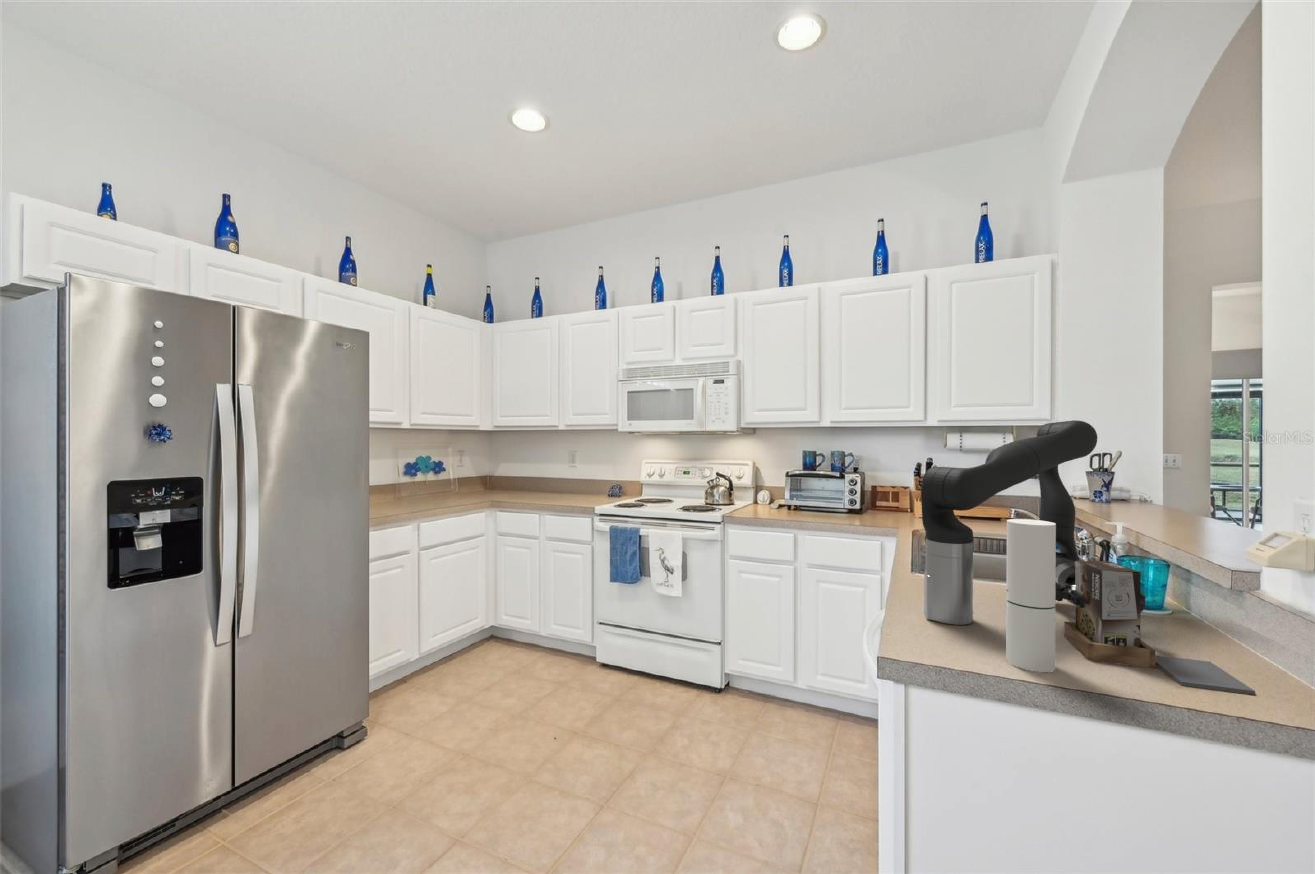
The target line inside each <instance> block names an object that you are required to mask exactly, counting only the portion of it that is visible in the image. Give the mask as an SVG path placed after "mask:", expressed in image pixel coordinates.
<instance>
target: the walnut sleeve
mask: <svg viewBox="0 0 1315 874" xmlns="http://www.w3.org/2000/svg"><path fill="white" fill-rule="evenodd" d="M1063 624H1064V625H1063V626H1064V629H1063V631H1064V633H1063V635H1064V637H1065V639H1066V640H1067V641H1069V642H1070V643H1071V645H1073V647H1074V648H1075V649H1076V650H1077V651H1079V653H1080V654H1081V655H1083V657H1085V659H1086V660H1087V661H1093V662H1101V663H1108V664H1109V663H1110V664H1116V665H1117V664H1118V665H1125V666H1132V667H1134V666H1135V667H1141V668H1142V667H1143V668H1150V669H1156V665H1155V658H1156V655H1157V654H1156V650H1155V649H1153V648H1152V647H1150V646H1149V645H1148V644H1147V643H1145V642H1144V641H1142V640H1141V639H1140V648H1137V647H1128V646H1119V645H1110V644H1101V643H1092V642H1091V641H1090V640H1089V639H1088V638H1086V637H1085V636H1084V635H1083V634H1082V633H1081V632H1080V631H1079V630H1078V629H1077V628H1076V621H1075V622H1073V621H1066V620H1065V621H1064V623H1063Z"/></svg>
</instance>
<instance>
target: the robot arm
mask: <svg viewBox="0 0 1315 874" xmlns="http://www.w3.org/2000/svg"><path fill="white" fill-rule="evenodd" d="M1097 444H1098V433H1097V431H1096V428H1095V427H1093V425H1091V424H1090V423H1089V422H1086V421H1083V420H1076V419H1075V420H1074V419H1073V420H1063V421H1057V422H1056V421H1055V422H1048V423H1045V424H1042V425H1041V426H1039V428H1038V430H1037V432H1036V436H1034V437H1033V436H1032V437H1027V438H1023V439H1018V440H1014V441H1011V442H1009V443H1005V444H1004V445H1001V446H998V447H997V448H995V449H993V450H991V452H989V454H988V455H987V456H986V459H985V462H984V464H981V465H977V466H973V467H951V466H950V467H949V466H933V467H930V468H928V469H927V470H926V471H925V473H924V475H923V476H922V479H921V484H920V500H921V501H920V502H921V504H920V505H921V520H922V524H923V525H922V526H923V528H924V531H925V570H924V574H923V575H924V585H923V586H924V587H923V588H924V592H923V593H924V594H923V595H924V600H923V603H924V605H923V607H924V610H923V612H924V615H925V617H926V619H927V620H929V621H930V620H931V621H935V622H938V623H943V624H947V625H948V624H949V625H956V626H957V625H958V626H959V625H960V626H962V625H969V624H973V621H974V616H973V615H974V531H973V529H972V528H971V527H969V525H966V524H965V523H963V522H962V521H960V520H959V519H958V517H956V515H955V511H960V512H961V511H970V510H973V509H974V508H977V507H979V506H980V505H981V504H984V503H985V502H986V501H988V500H989V499H991V498H992V497H994V496H996V494H999V493H1001V492H1003V491H1005V490H1008V489H1010V488H1012V487H1014V486H1016V485H1019V484H1021V483H1023V482H1026V481H1028V480H1030V479H1033V478H1034V477H1036V476H1038V480H1039V481H1038V483H1039V489H1040V491H1039V493H1040V504H1039V505H1040V508H1039V517H1038V520H1041V521H1048V522H1052V523H1055V524H1056V547H1058V548H1059V551H1060V552H1058V551H1056V582H1055V601H1057V602H1063V601H1064V600H1066V602H1067V603H1069V604H1073V605H1074V606H1075V607H1076V606H1078V607H1079V608H1084V596H1082V595H1081V594H1080V593H1078V592H1077V590H1076V589H1075V561H1080V558H1079V555H1078V554H1079V553H1078V550H1077V545H1076V539H1075V526H1076V506H1075V503H1074V500H1073V499H1072V497H1071V495H1070V493H1069V492H1068V490H1067V488H1066V487H1065V485H1064V483H1063V481H1062V479H1061V477H1060V473H1059V465H1061V464H1063V463H1064V464H1065V463H1066V462H1070V461H1073V460H1077V459H1082V458H1085V457H1087V456H1088V455H1090V454H1091V453H1092V452H1093V451H1094V450H1095V449H1096V446H1097ZM1146 597H1147V596H1146V594H1144V593H1142V592H1141V608H1140V614H1141V613H1142V612H1144V610H1145V609H1146V608H1147V607H1146Z"/></svg>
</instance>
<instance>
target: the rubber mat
mask: <svg viewBox="0 0 1315 874" xmlns="http://www.w3.org/2000/svg"><path fill="white" fill-rule="evenodd" d="M1155 667H1157V668H1159V669H1160V670H1161V671H1163V673H1165V674H1166V675H1167V676H1169V677H1170V678H1172V679H1173V680H1174V681H1175V682H1176V683H1178V684H1179V685H1180V686H1182V687H1183V686H1184V687H1190V688H1191V687H1192V688H1198V689H1205V688H1207V689H1208V690H1213V689H1214V691H1222V692H1229V693H1230V692H1231V693H1237V694H1244V693H1246V695H1252V694H1253V695H1252V696H1255V695H1256V690H1254V688H1253V689H1252V688H1251V687H1250V686H1248V685H1246V684H1245V683H1243V682H1242V681H1240V680H1239V679H1238V678H1236V677H1235V676H1233V675H1231V674H1230V673H1228V672H1227V671H1225V670H1223V668H1221V667H1219V666H1218V665H1216V664H1215V663H1213V662H1211V661H1208V660H1199V659H1192V658H1191V659H1190V658H1182V657H1174V656H1173V657H1172V656H1165V655H1157V654H1156V658H1155ZM1207 689H1206V690H1207Z"/></svg>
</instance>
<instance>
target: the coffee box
mask: <svg viewBox="0 0 1315 874" xmlns="http://www.w3.org/2000/svg"><path fill="white" fill-rule="evenodd" d="M1141 575H1142V572H1141V571H1139V570H1136V569H1135V568H1134V569H1133V568H1130V567H1127V566H1125V565H1122V564H1118V563H1116V562H1113V561H1106V560H1079V561H1075V589H1076V590H1077V592H1078V593H1080V594H1081V595H1082V596H1084V608H1079V607H1078V606H1076V605H1075V622H1076V628H1077V629H1078V630H1079V631H1080V632H1081V633H1082V634H1083V635H1084V636H1085V637H1086V638H1088V639H1089V640H1090V641H1091V642H1092V643H1101V644H1110V645H1119V646H1128V647H1137V648H1140V640H1141V613H1140V608H1141V593H1142V591H1141V589H1142V587H1141V585H1142V584H1141V583H1142V582H1141V580H1142V579H1141V578H1142V577H1141Z"/></svg>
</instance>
